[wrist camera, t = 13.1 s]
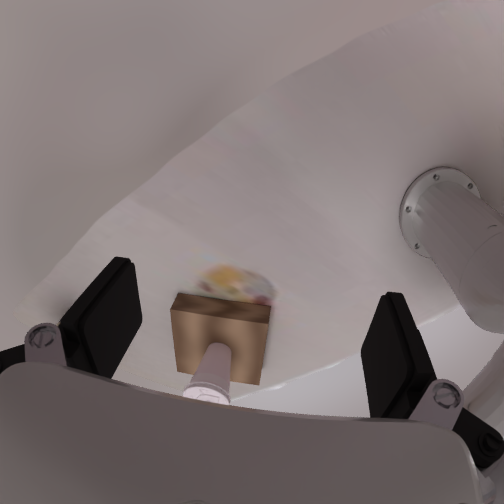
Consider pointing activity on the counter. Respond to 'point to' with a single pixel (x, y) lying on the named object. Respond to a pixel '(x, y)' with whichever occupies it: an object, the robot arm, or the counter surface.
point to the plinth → (220, 334)
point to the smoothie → (212, 376)
